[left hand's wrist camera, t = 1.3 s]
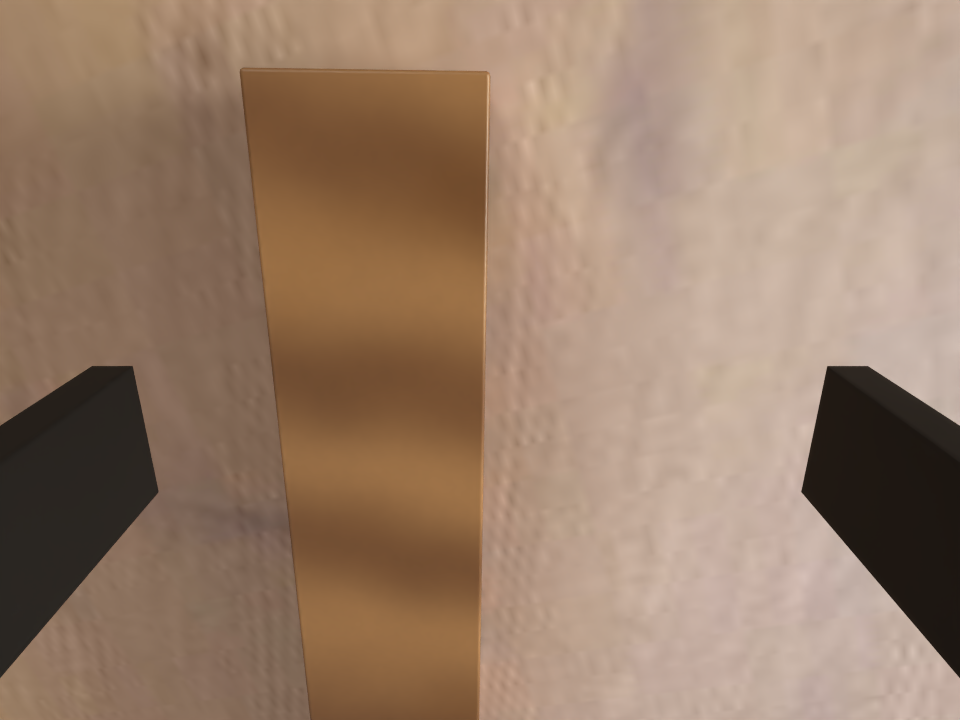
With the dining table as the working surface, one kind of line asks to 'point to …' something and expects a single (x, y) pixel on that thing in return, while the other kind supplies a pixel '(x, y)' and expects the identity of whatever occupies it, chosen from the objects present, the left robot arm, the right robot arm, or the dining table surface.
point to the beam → (378, 373)
